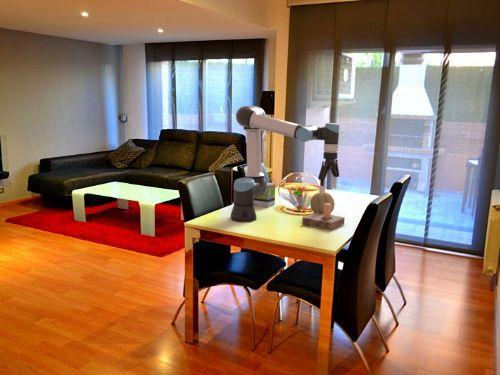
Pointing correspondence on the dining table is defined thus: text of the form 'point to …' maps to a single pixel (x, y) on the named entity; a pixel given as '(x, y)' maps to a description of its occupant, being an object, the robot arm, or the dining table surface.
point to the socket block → (323, 221)
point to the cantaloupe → (321, 202)
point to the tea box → (266, 197)
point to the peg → (327, 211)
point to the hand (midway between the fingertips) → (328, 189)
